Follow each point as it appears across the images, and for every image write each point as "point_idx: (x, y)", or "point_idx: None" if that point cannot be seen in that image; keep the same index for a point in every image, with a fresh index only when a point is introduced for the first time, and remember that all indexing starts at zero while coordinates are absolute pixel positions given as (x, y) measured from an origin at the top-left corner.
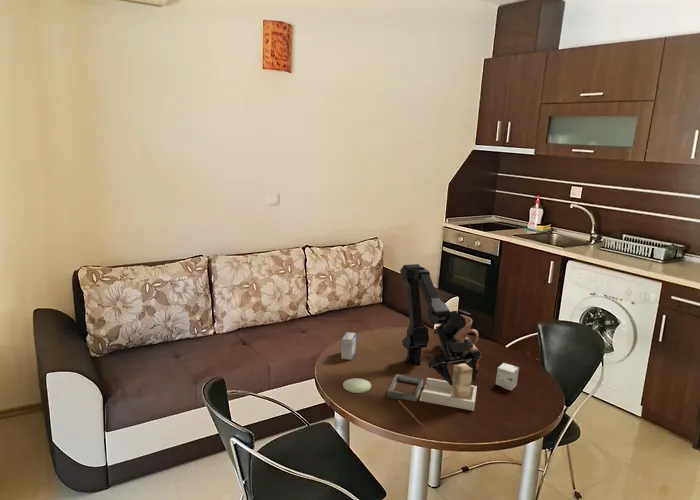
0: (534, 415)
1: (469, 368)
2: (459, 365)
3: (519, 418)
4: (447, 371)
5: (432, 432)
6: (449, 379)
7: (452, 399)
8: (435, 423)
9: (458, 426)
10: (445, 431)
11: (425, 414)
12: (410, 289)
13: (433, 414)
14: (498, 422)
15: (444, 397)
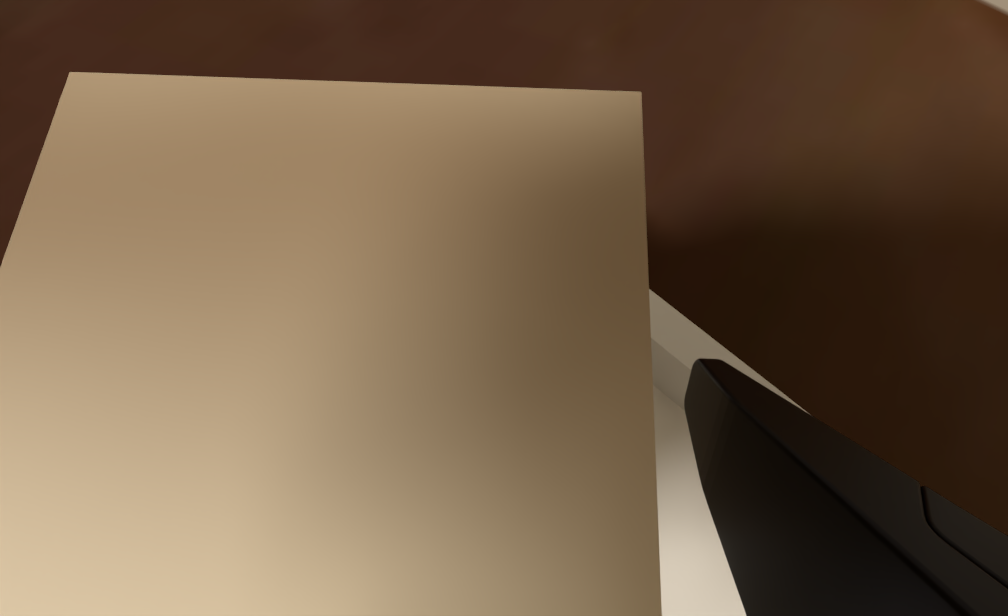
0: (28, 14)
1: (153, 140)
2: (363, 599)
3: (178, 19)
4: (959, 566)
5: (991, 82)
6: (794, 409)
7: (669, 313)
8: (918, 175)
9: (737, 82)
10: (877, 61)
11: (962, 333)
12: None
13: (879, 305)
14: (383, 28)
15: (760, 379)
